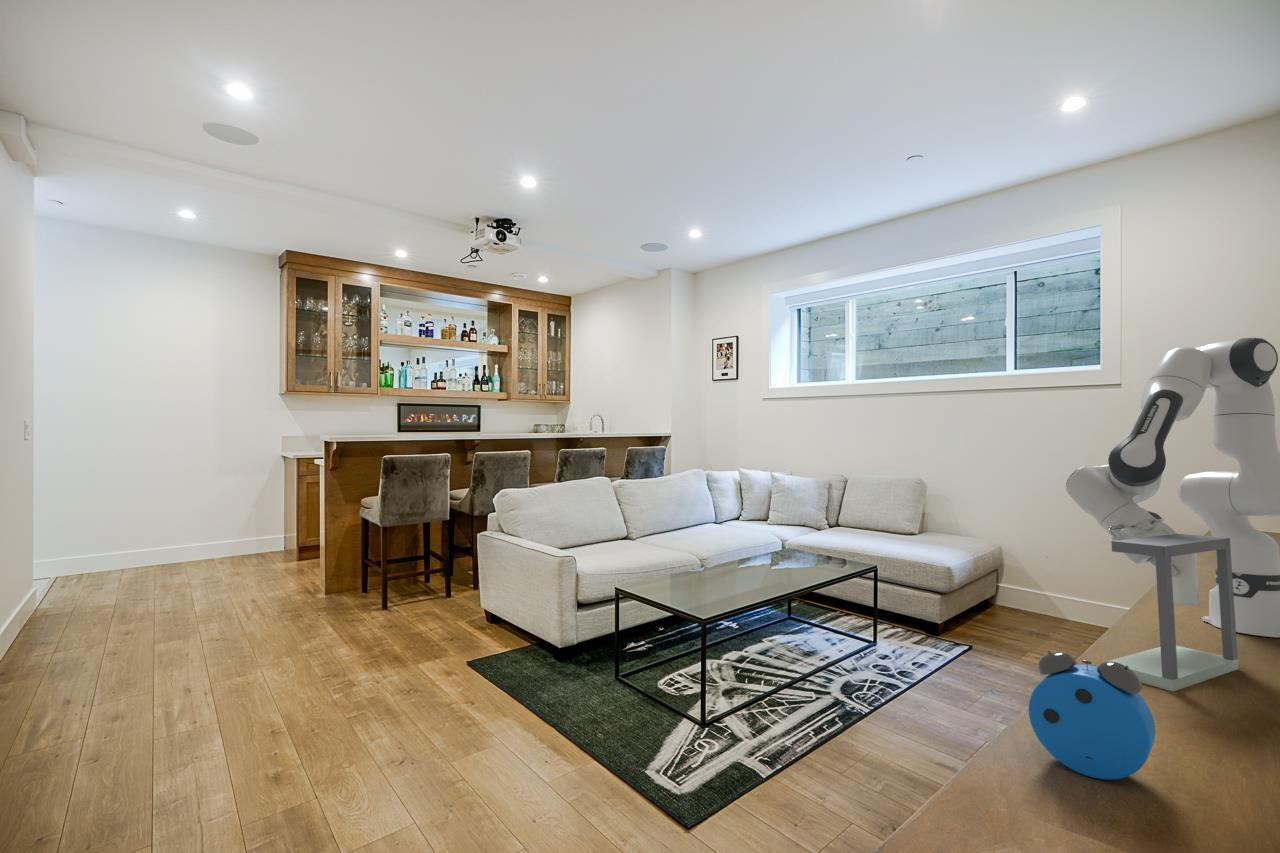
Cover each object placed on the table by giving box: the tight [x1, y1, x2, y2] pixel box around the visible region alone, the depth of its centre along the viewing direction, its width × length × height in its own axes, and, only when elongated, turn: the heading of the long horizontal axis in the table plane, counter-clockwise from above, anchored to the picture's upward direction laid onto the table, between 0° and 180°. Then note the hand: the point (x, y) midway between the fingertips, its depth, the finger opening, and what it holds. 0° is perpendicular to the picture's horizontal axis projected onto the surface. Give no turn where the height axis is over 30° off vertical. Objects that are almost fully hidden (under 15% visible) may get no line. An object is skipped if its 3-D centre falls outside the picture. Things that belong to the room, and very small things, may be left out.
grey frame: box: [1108, 533, 1239, 692], centre depth 119 cm, size 26×11×26 cm, turn 116°
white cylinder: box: [1171, 553, 1201, 606], centre depth 131 cm, size 6×6×11 cm
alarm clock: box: [1028, 650, 1156, 780], centre depth 81 cm, size 13×6×15 cm, turn 44°
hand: (1184, 573), depth 130 cm, fingers closed on white cylinder, 5 cm apart
